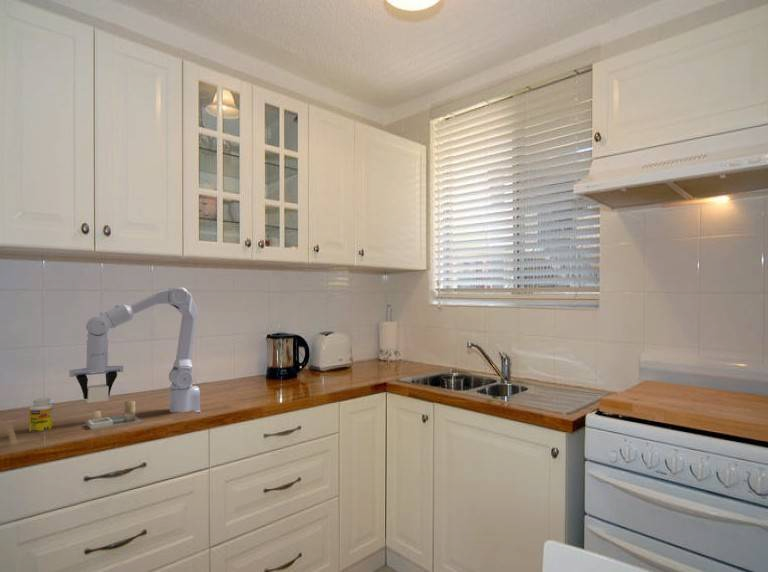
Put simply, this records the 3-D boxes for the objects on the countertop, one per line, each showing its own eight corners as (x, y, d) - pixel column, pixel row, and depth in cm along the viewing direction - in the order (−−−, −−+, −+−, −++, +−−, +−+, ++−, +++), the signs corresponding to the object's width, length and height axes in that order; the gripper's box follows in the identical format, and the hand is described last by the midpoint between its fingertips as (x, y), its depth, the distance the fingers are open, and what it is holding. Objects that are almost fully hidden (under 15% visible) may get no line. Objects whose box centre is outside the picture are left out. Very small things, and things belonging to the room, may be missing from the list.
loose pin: (133, 419, 148) (133, 400, 148) (136, 421, 145) (136, 402, 146) (123, 420, 146) (123, 401, 146) (125, 422, 143) (125, 403, 144)
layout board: (131, 416, 155) (132, 404, 155) (142, 424, 145) (142, 411, 145) (83, 424, 146) (83, 411, 146) (91, 433, 136) (91, 419, 136)
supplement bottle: (26, 436, 133) (27, 401, 133) (32, 431, 138) (32, 397, 138) (49, 434, 135) (50, 399, 136) (54, 429, 140) (55, 396, 141)
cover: (104, 397, 149) (104, 384, 149) (108, 400, 145) (108, 386, 145) (84, 400, 145) (85, 386, 145) (88, 402, 141) (88, 388, 141)
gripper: (119, 351, 153) (119, 391, 153) (67, 354, 144) (67, 398, 143) (125, 353, 148) (124, 395, 148) (71, 357, 138) (70, 402, 138)
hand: (96, 397), depth 145 cm, fingers closed on cover, 5 cm apart
